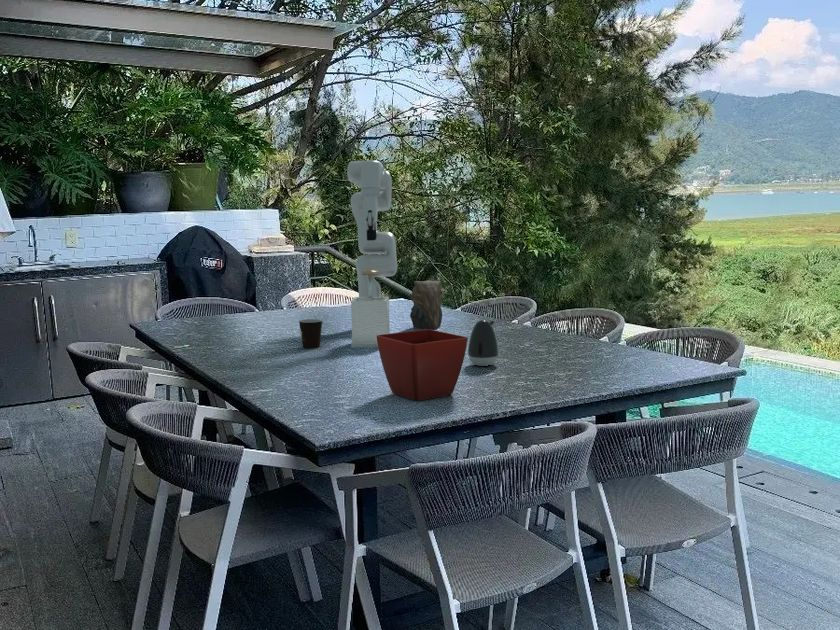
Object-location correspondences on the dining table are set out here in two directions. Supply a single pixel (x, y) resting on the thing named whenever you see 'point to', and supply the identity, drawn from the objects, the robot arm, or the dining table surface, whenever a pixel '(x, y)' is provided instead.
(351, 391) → the dining table surface
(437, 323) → the owl
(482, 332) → the dark grey tapered dome
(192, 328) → the dining table surface
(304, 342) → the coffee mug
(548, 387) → the dining table surface
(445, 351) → the plant pot
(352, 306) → the white open square box
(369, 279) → the plunger
